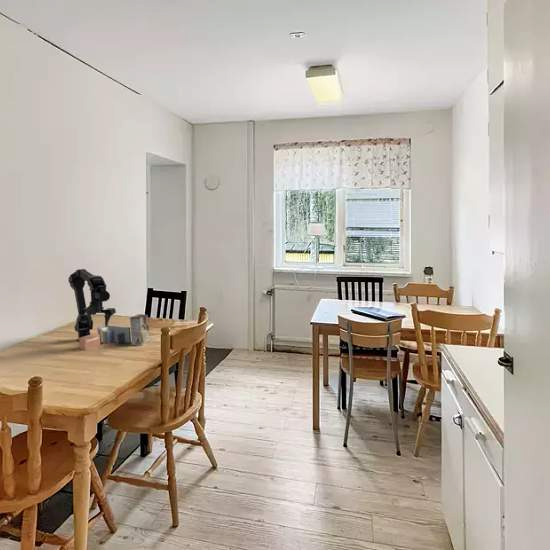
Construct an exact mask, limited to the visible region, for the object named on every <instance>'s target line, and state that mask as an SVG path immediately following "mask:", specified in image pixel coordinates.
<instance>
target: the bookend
mask: <svg viewBox="0 0 550 550" xmlns="http://www.w3.org/2000/svg"><path fill="white" fill-rule="evenodd" d="M115 342H116V346H126V345H127V344H128V345H129V344H130V343H129V342H125V334H124V332H122V333H119V334H116V341H115Z"/></svg>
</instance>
